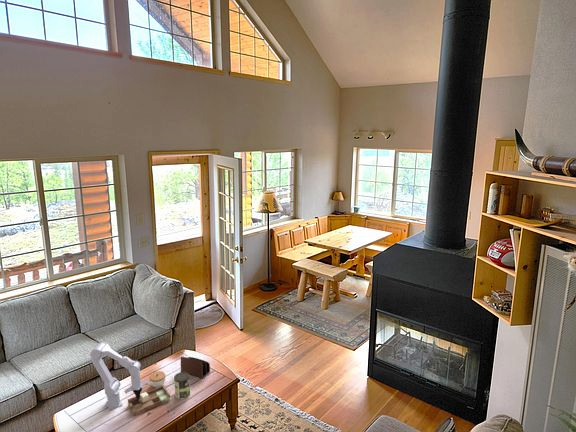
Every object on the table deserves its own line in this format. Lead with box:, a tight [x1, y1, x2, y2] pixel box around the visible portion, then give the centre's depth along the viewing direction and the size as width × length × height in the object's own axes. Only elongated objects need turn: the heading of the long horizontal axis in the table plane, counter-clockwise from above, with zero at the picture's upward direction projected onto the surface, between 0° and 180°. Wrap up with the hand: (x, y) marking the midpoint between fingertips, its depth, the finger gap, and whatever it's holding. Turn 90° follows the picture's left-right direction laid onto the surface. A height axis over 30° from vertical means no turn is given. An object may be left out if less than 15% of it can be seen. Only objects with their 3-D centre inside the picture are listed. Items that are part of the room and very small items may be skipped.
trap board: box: [127, 385, 171, 416], centre depth 259 cm, size 12×24×4 cm, turn 128°
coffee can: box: [173, 371, 191, 400], centre depth 266 cm, size 10×10×14 cm
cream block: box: [140, 391, 149, 403], centre depth 258 cm, size 4×4×4 cm
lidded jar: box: [149, 370, 166, 389], centre depth 276 cm, size 11×11×9 cm
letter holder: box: [180, 356, 211, 380], centre depth 291 cm, size 10×20×14 cm, turn 67°
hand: (137, 398), depth 256 cm, fingers closed
